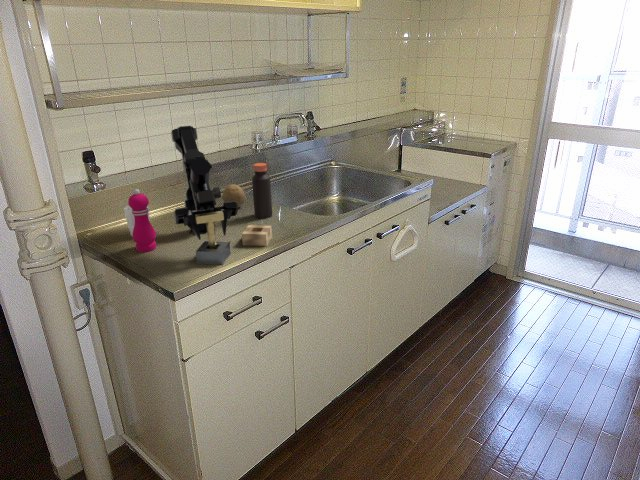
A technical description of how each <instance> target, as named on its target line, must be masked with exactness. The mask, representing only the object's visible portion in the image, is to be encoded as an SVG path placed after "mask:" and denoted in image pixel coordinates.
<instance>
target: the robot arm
mask: <svg viewBox="0 0 640 480" xmlns="http://www.w3.org/2000/svg"><path fill="white" fill-rule="evenodd" d="M197 133H198V132H197V128H195V127H194V126H191V125H183V126H179V127H178V126H177V128H174V129H172V130H171V131H170V134H171V135H170V136H171V139H172V140H171V141H172V143H174V145H175V146H174V147H175V149H176V150H177V151H178V152H179V153H180V154H181V157H182V158H181V159H182V169H183V172H184V174H185V178H186V183H187V187H188V188H187V190H186V193H185V199H184V207H177V208H175V209H174V221H175V225H183V226H185V227H186V226H187V227H188V228H189V229H190V230H188V233H189V234H194V235H195V236H196V238H197V239H198V240H199V241H200V240H201V234H207V227H206V223H200V224H197V223H196V220H195V215H196V214H203V213H210V212H217V211H222V212H223V215H224V220H220V222H221V228H222V234H223V236H224V237H225V236H227V235H226V233H227V224H228V220H230V219H231V217H236V216H237V215H238V210H239V207H238V204H237V202H236V201H227V202H224V201H223V204H222V205H221V206H216V205H217V199H220V198H221V197H222V192H221V188H220V186H216V187H212V189H211V185H210V180H211V171H212V169H213V165H212V163H210V161H209V160H208V159H206V156H205V154H204V152H202V151H200V150H199V148H198V144H197V140H198V134H197Z"/></svg>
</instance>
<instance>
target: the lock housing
mask: <svg viewBox="0 0 640 480" xmlns="http://www.w3.org/2000/svg"><path fill="white" fill-rule="evenodd" d="M216 242H217V249H209V244H208V240H205V241H204V242H202V244H201V245H199V247H198V248H197V249H196V250H195V256H196V257H195V258H196V264H199V265H200V264H201V265H204V264H205V265H224V263H225V262H226V261H227V259H228V258H229V257H230V255H231V253H232V252H231V244H230V241H216Z"/></svg>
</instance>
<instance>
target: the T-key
mask: <svg viewBox="0 0 640 480" xmlns="http://www.w3.org/2000/svg"><path fill="white" fill-rule="evenodd" d="M195 220H196V223H197V224H200V223H206V227H207V233H206V235H207V241H208V244H209V249H217V242H218V241H217V235H216V226H215V222H218V221H220V222H221V220H224V215H223V212H222V211H217V212H210V213H203V214H196V215H195Z"/></svg>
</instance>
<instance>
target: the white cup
mask: <svg viewBox="0 0 640 480" xmlns="http://www.w3.org/2000/svg"><path fill="white" fill-rule="evenodd" d="M147 208H148V211H149V205H148V206H147ZM131 210H132V208H131V207H130V206H129V205H126V206H125V207H123V211H124V215H125V220H126V223H127V227H128V230H129V233H130V236H131V237H132V238H133V236H132V234H133V229H134V225H135V218H134V215H132V211H131ZM148 219H149V221H150V222H151V217H150V211H149V212H148Z"/></svg>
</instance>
